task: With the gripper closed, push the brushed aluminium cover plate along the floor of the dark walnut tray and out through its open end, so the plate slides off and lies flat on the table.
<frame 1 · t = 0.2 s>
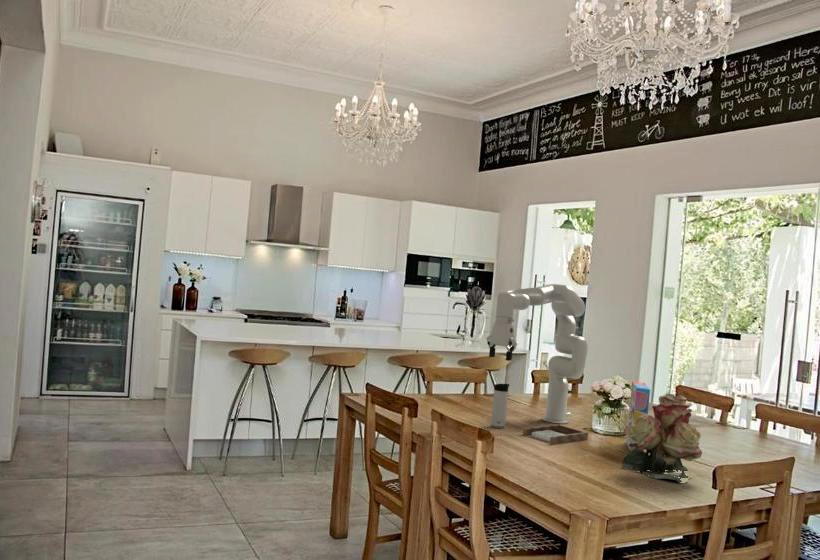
hand: (500, 358, 330), 31 cm above the table, tool pointing down, fingers open, 9 cm apart
rose bouquet: (663, 474, 279), on the table
game box: (634, 449, 316), on the table
travel mug: (497, 427, 333), on the table
tray: (553, 439, 320), on the table
cover plate: (549, 438, 318), point 1 cm above the table, touching tray
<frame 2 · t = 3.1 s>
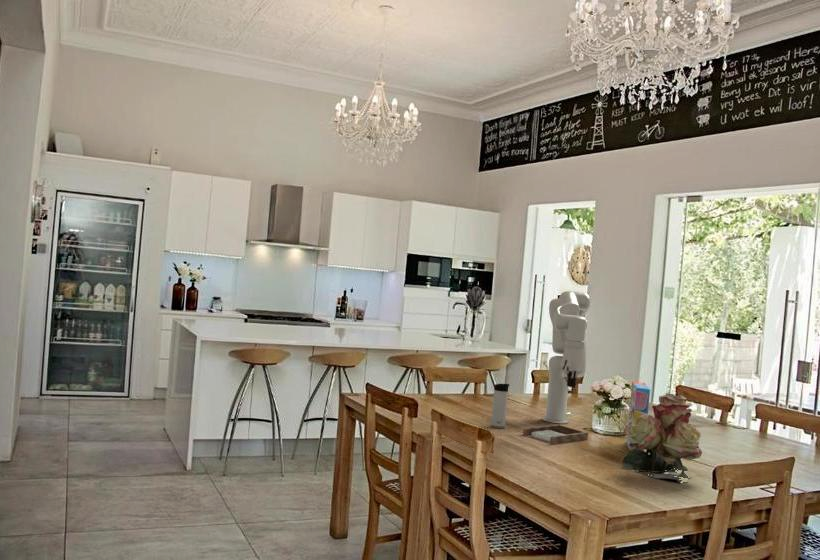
hand: (571, 386, 325), 22 cm above the table, tool pointing down, fingers closed
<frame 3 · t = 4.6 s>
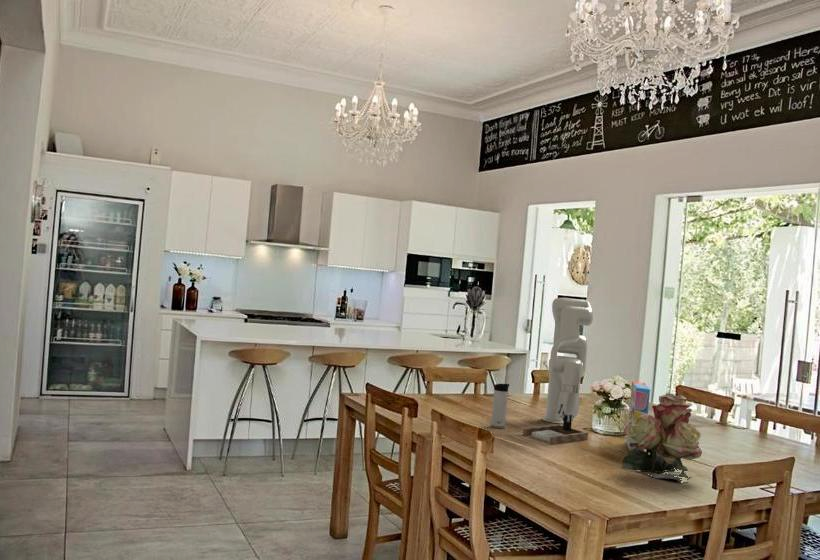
hand: (566, 430, 325), 3 cm above the table, tool pointing down, fingers closed
nothing on the table moved.
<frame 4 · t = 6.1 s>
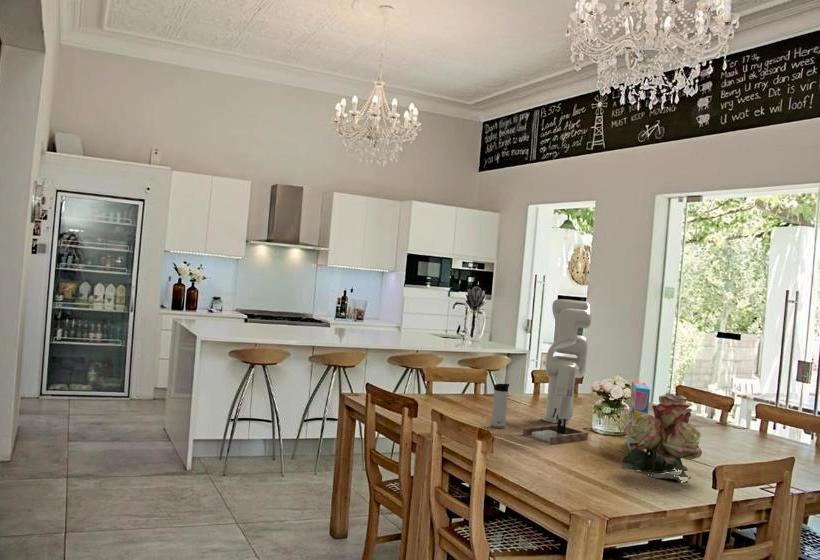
hand: (560, 434, 323), 2 cm above the table, tool pointing down, fingers closed
cover plate: (549, 438, 318), point 1 cm above the table, touching gripper
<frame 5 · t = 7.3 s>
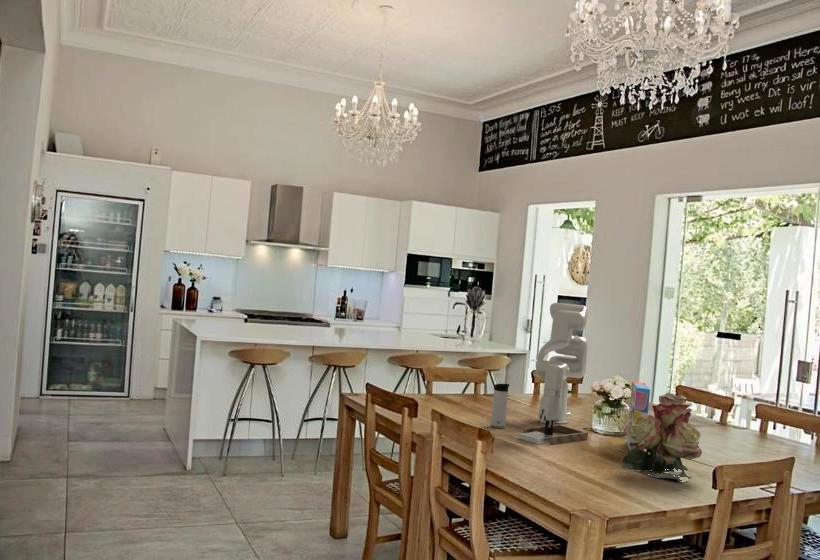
hand: (548, 435, 317), 2 cm above the table, tool pointing down, fingers closed
cover plate: (536, 440, 312), point 1 cm above the table
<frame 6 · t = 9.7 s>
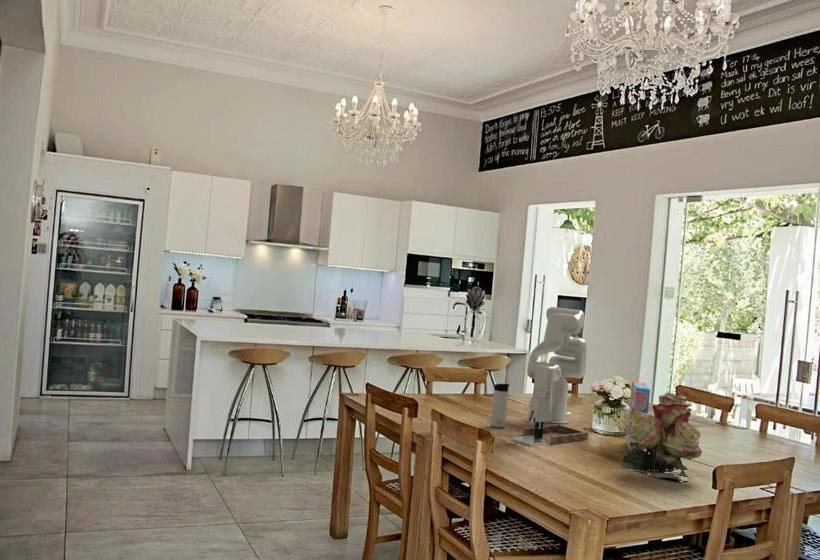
hand: (538, 437, 313), 1 cm above the table, tool pointing down, fingers closed
cover plate: (528, 444, 308), on the table, touching gripper
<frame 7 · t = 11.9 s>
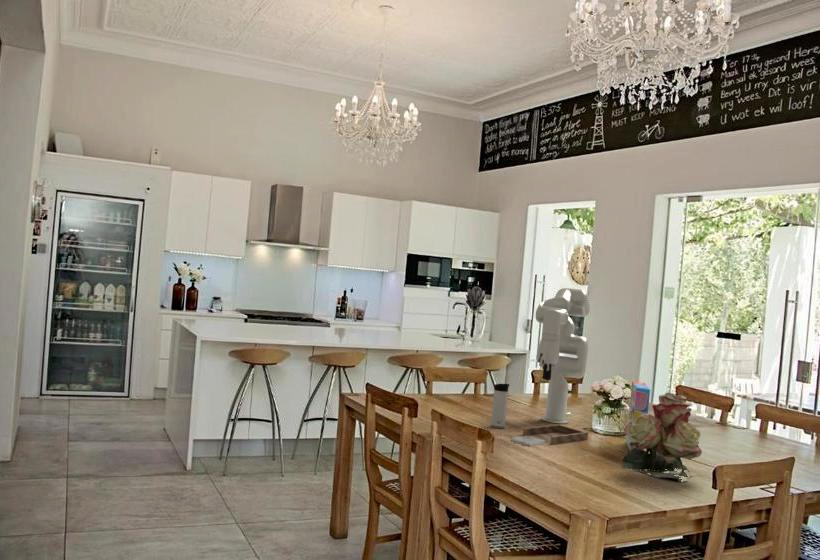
hand: (546, 379, 324), 25 cm above the table, tool pointing down, fingers closed
cover plate: (528, 444, 308), on the table
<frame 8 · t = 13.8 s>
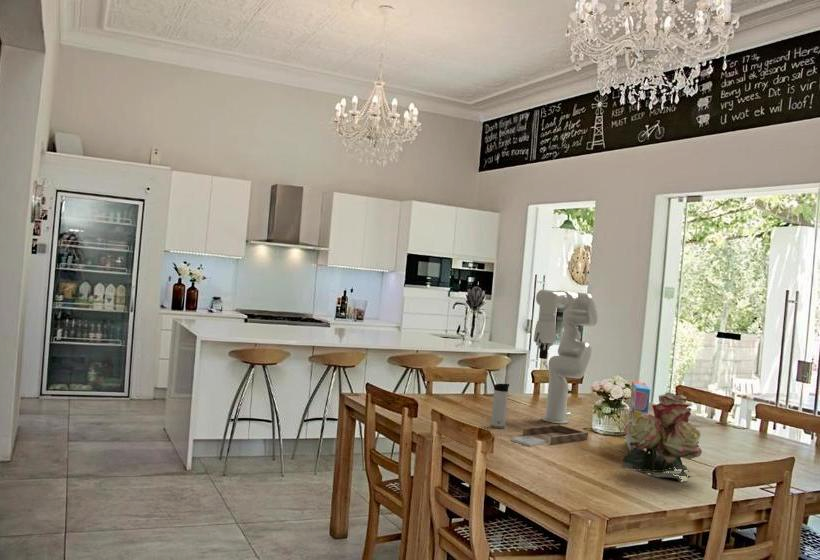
hand: (543, 358, 338), 32 cm above the table, tool pointing down, fingers closed
at the end: cover plate inside the target area (2.6 cm from its centre), on the table; cover plate touching table; cover plate tilted 0° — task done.
